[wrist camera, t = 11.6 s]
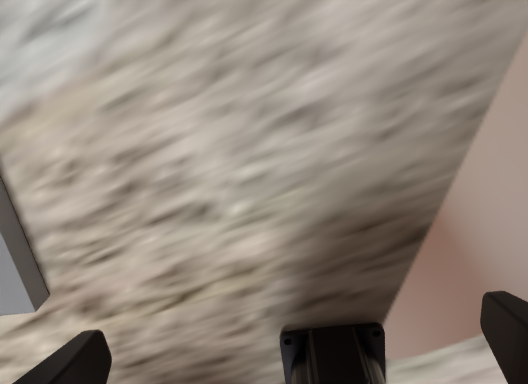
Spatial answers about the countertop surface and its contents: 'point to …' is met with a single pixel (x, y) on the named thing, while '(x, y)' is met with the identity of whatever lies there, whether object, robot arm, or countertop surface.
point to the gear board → (17, 265)
